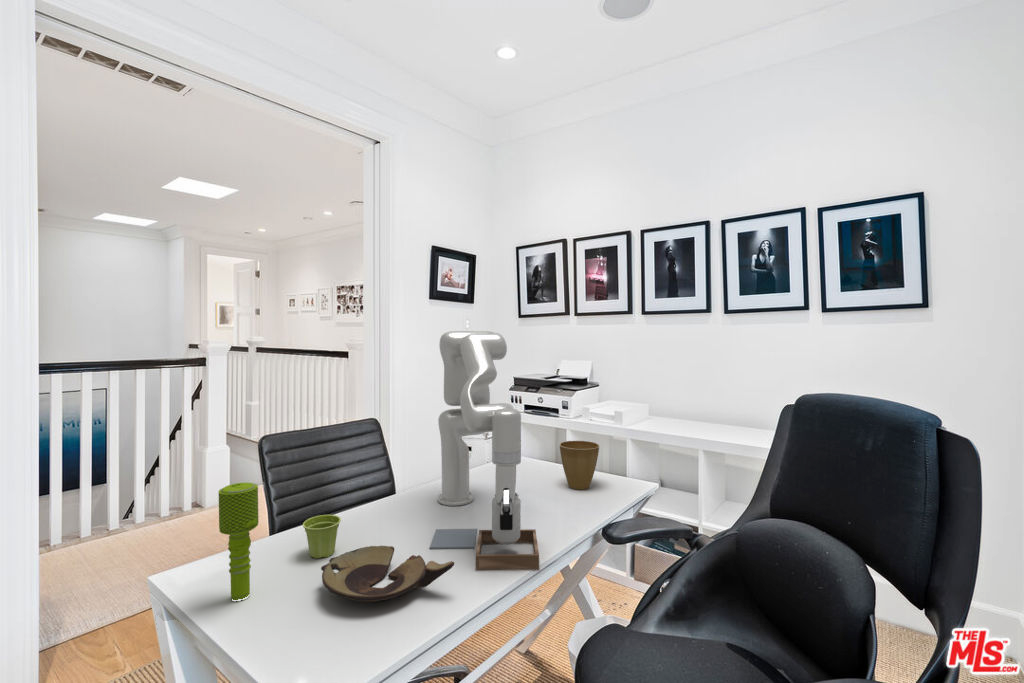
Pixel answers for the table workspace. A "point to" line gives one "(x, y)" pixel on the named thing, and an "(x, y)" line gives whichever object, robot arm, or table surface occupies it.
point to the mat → (454, 539)
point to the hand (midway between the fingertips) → (506, 522)
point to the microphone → (239, 531)
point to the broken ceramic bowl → (377, 574)
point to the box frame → (507, 559)
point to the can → (498, 534)
